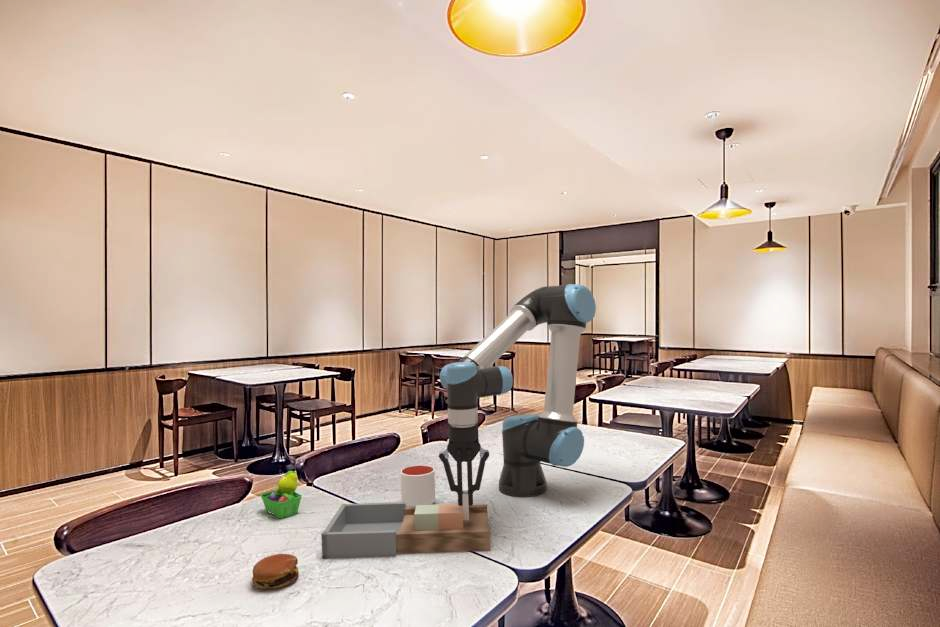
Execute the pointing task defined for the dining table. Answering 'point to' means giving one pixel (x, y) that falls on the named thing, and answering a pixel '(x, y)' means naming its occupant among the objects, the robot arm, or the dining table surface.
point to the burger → (275, 571)
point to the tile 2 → (450, 516)
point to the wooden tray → (445, 534)
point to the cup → (418, 485)
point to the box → (363, 530)
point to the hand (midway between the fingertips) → (466, 518)
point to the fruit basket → (283, 497)
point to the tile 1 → (426, 517)
